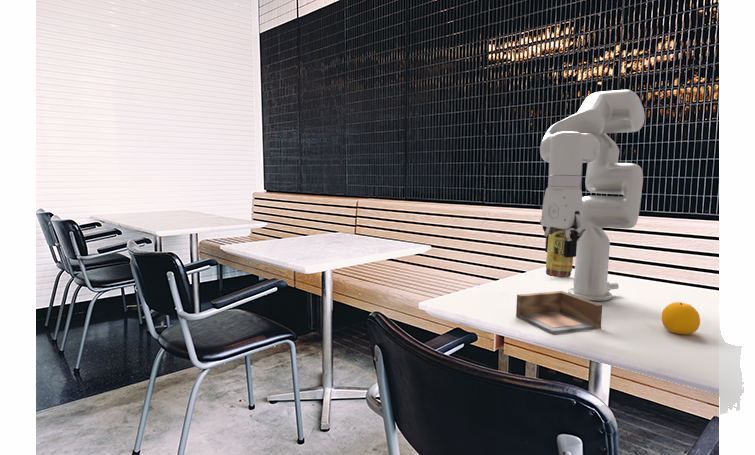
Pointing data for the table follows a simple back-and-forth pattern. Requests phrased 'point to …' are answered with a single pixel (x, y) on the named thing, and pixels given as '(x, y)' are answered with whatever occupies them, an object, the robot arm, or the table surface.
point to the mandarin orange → (680, 318)
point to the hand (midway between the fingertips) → (560, 253)
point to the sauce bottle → (558, 254)
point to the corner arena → (559, 312)
